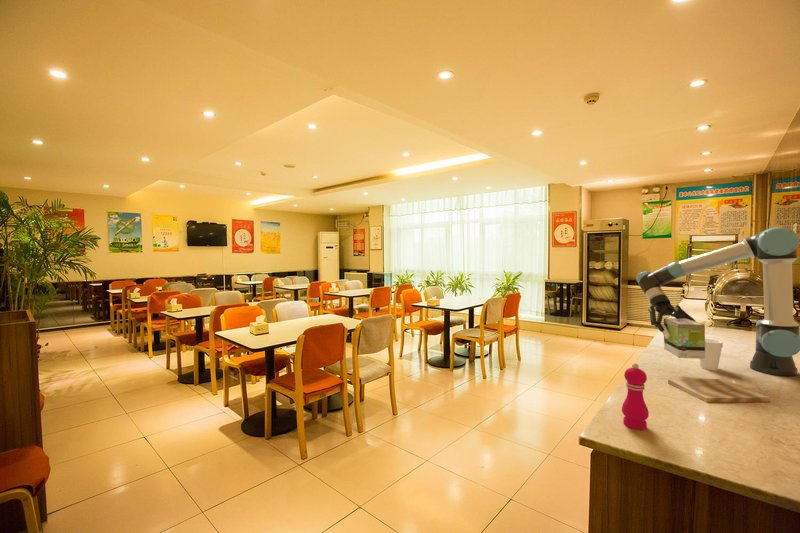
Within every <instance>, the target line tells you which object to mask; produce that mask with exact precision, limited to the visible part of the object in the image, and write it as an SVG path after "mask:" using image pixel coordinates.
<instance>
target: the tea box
mask: <svg viewBox="0 0 800 533" xmlns="http://www.w3.org/2000/svg"><path fill="white" fill-rule="evenodd" d="M663 324H664V325H665V327H666V329H667V330H668V332H669V333H670V335H671V336H670V337H669V338H668V339H666V338H665V336H664V335H663V348H664V350H666V351H667V352H669V353H670V354H672V355H673V356H676V357H678V358H680V359H698V360H699V359H705V338H706V326H705V323H702V322H699V321H698V322H697V321H696V320H695V321H693V320H690V319H677V318H663Z"/></svg>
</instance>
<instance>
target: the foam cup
mask: <svg viewBox="0 0 800 533" xmlns="http://www.w3.org/2000/svg"><path fill="white" fill-rule="evenodd" d="M723 348H724V347H723V340H719V339H714V338H708V337H707V338H706V337H705V359H698V362H699V367H700V368H701V369H705V370H709V371H718V369H719V364H720V361H721V360H720V359H721V355H722V349H723Z"/></svg>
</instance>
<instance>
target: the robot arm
mask: <svg viewBox="0 0 800 533" xmlns="http://www.w3.org/2000/svg"><path fill="white" fill-rule="evenodd" d="M799 245H800V238H799V235H798V234H797V233H796V232H795V231H794V230H793V229H790V228H787V227H782V226H775V227H769V228H767V229H765V230H762V231H760V232H758V233H756V234H754V235H752V236H749V237H745V238H744V239H742V241H741V242H737V243H734V244H732V245H731V244H730V245H727V246H725V247H721V248H718V249H715V250H711V251H709V252H705V253H702V254H699V255H696V256H692V257H689V258H686V259H683V260H680V261H673V262H670V263H668V264H666V265H665V266H663V267H661V268H659V269H657V270H655V271H653V272H651V271H648V270H645V271H642V272H640V273H638V274H637V275H636V277H635V280H636V282H637V284H638V286H639V287H640V289H641V291H642V292H643V293H644V295H645V296H646V298H647V300H648V302H649V303H650V306H649V308H647V310H648V312H649V318H650V319H649V320H650V326H654V327H655V328H657V330H659V332H661V333H662V336H663V337H664V336H665V338H666V339H668V338H669V337H670V336H671V335H670V333H669V332H668V330H667V329H666V327H665V325H664V322H662V321H663V320H662V319H663V318H664V316H671V317H672V318H674V319H690V320H693V321H696V320H695V319H694V318H693V317H692V316H691V315H690V314H689V313H687V312H686V311H684V310H683V309H682V307H681V306H680V305H679V304H677V305H675V306H673V305H672V303H671V300H670V299H669V297H668V296H667V294H666V292H665V291H664V290H663V288H662V286H664V285H666V284H669V283H670V282H673V281H675V280H677V279H679V278H681V277H685V276H689V275H691V274H692V275H693V274H695V273H698V272H702V271H705V270H709V269H712V268H717V267H719V266H723V265H727V264H730V263H733V262H736V261H740V260H744V259H748V258H752V259H755V258H757V261H759V262H760V263H762V280H763V282H762V284H763V285H762V286H763V287H762V288H763V317H764V318H763V319H758V320H757V321H756V324H755V352H754V354H753V357H752V359H751V360H750V362H749V368H750V369H752V370H754V371H756V372H760V373H764V374H768V375H776V376H783V377H796V376H798V373H799V370H798V367H797V366H796V362H795V361H794V358H793V356H795V355H797V354H798V353H799V352H800V324H799V323H798V322H796V321H795V320H794V292H793V291H794V290H793V288H794V287H793V286H794V285H793V263H794V262H795V261H797V260H798V247H799ZM656 312H657V316H656Z"/></svg>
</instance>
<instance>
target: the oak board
mask: <svg viewBox="0 0 800 533" xmlns="http://www.w3.org/2000/svg"><path fill="white" fill-rule="evenodd" d="M667 383H668V384H669V385H671V386H673V387H674V388H677V389H679V390H681V391H683V392H684V393H687V394H689V395H691V396H693V397H695V398H697V399H699V400H701V401H703V402H705V403H729V402H730V403H731V402H732V403H734V402H735V403H737V402H738V403H740V402H742V403H743V402H746V403H747V402H748V403H749V402H751V403H753V402H770V401H771V400H770V397H769V396H768V395H765V394H763V393H759V392H757V391H755V390H752V389H749V388H747V387H745V386H743V385H739V384H737V383H734V382H732V381H729V380H727V379H723V378H720V379H719V378H717V379H715V378H711V379H710V378H709V379H707V378H705V379H704V378H703V379H702V378H699V379H697V378H695V379H668V380H667Z"/></svg>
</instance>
